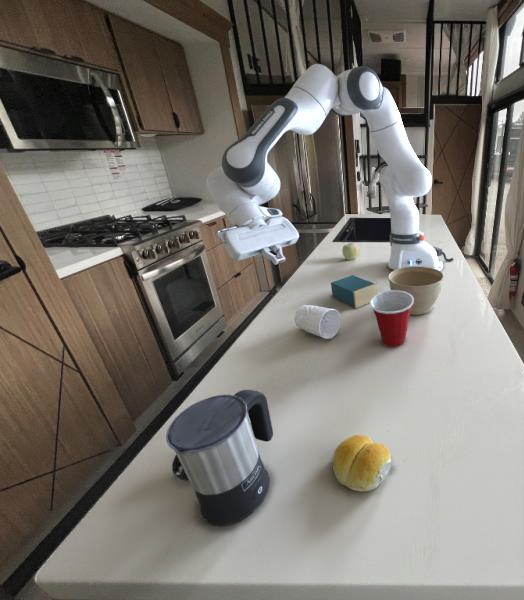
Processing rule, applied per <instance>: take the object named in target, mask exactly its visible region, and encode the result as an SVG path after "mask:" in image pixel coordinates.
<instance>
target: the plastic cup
mask: <svg viewBox="0 0 524 600" xmlns="http://www.w3.org/2000/svg"><path fill="white" fill-rule="evenodd" d="M413 303H414V298H413V296H412V295H411V294H409V293H407V292H405V291H399V290H392V291H391V290H386V291H385V290H384V291H381V292H378V294H377V295H375V296H374V297H372V298H371V299H370V303H368V304H369V306H370V308H371V310H372V311H373V314H374V316H375V320H376V324H377V327H378V332H379V334H380V339H381V342H382V343H383V345H385V346H386V347H390V348H397V347H400V346H402V345H404V343H405V341H406V336H407V332H408V328H409V327H408V326H409V322H410V315H411V314H410V311H411V307H412V305H413Z"/></svg>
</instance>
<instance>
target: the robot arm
mask: <svg viewBox="0 0 524 600" xmlns="http://www.w3.org/2000/svg"><path fill="white" fill-rule="evenodd" d="M329 113H332V114H334V115H336V116H339V117H346V116H353V115H357V114H360V113H361V114H362V116H363V117H364V118H365V120H366V123H367V126H368V128H369V132H370V134H371V137H372V140H373V142H374V145H375V148H376V151H377V153H378V155H379V157H381V159H383V161H384V162H385V163H386V166H385V165H384V166H383V167H382V169H381V170H380V172H379V176H378V181H379V185H380V186H381V188H382V189H383V191H384V193H385V197H386V201H387V204H388V208H389V215H390V217H389V218H390V232H389V244H390V256H389V259H388V260H389V261H388V265H387V267H388V268H389V269H391V270H392V271H394V270H397V269H400V268H404V267H411V266H423V267H430V268H434V269H437V270H439V271H442V270H443V268H444V262H443V261H442V260H441V259H440V258H438V257H441V256H443V259H444V260H445V261H446V262H452V261H454V257H451V258H447V254H446V253H445V252H444V251H443V248H440V247H437V246H432V245H430V244H429V243H428V242H426V241H425V233H424V232H423V231H420V212H419V211H420V210H419V209H418V207H417V206H416V204H415V202H414V199H413V198H418V197H419V198H420V197H423V196H425V195H427V194H428V193H429V192H430V190H431V188H432V186H433V177H432V173H431V172H430V171H429V169H428V168H426V167H425V166H424V164H423V163H422V162H421V161H420V159H419V158H418V156H417V154H416V153H415V151H414V149H413V147H412V146H411V144H410V141H409V139H408V136H407V132H406V130H405V127H404V124H403V121H402V117H401V114H400V112H399V110H398V107H397V104H396V102H395V100H394V98H393V96H392V94H391V91H390V90H389V89H388V88H387V87H385V86H383V83H382V82H381V80H380V77H379V76H378V74H377V73H376V72H375V71H374V70H373V69H372V68H370V67H368V66H361V65H360V66H355V67H354V68H351V69H347V70H343V71H342V72H341V73H339V74H338V75H336V74H334V72H333V71H332V70H331V69H330V68H328V66H326V65H324V64H321V63H314V64H311V65H310V66H309V67H308V68H307V69H306V70H305V71H303V73H302V74H301V75H300V76H299V77H298V79H297V80H296V81H295V82H294V84H293V85H292V87H291V88H290V90H289V91H288V92H287V93H286V95H285V96H284V97H279V98H277V99H276V100H274V101H273V102H272V103H271V104H270V105H269V106H268V107H267V108H266V109H265V110H264V111H263V113H261V115H260V116H259V117H258V118H257V120H256V121H255V122H254V123H253V124H252V125H251V126H250V128H248V130H247V131H246V132H245V133H244V134H243V135H242V136H241V137H240V138H239V139H237V140H235V141H234V142H233V143H231V144H229V146H227V148H226V149H225V150H224V152H223V154H222V158H221V166H220V167H217V168H214V169H213V170H211V171H210V173H208V175H207V176H206V181H205V185H206V189H207V191H208V193H209V195H210V196H211V198H212V200H213V201H214V203H215V204H216V206H217V207H218V209H219V210H220V211H221V212H222V213H223V214H225V216H226V218H227V221H228V223H230V226H226V227H221V228H219V230H218V231H216V236H217V238H218V240H219V241H220V242H221V243H222V244H223V246H224V248H225V250H226V251H227V253H228V255H229V257H230V258H231V259H232V260H234V261H236V262H240V261H243V260H247V259H250V258H253V257H256V256H259V255H262V257H264V258H265V259H267V260H269V261H271V262H272V264H273V265H278V264H281V263H284V262H285V261H286V257H285V255H284V254H283V248H285V247H288V246H289V247H290V246H291V245H294V244H296V243H297V242H298V240H299V238H300V233H299V231H298V230H297V229H296V227H295V225H293V224H292V222H291V221H290V220H289V219H288V218H286V217H285V216H283V212H282V211H281V210H280V209H279V208H272V207H267V206H266V207H265V206H262V205H263V204H266V203H268V202H269V201H271V200H273V199H274V198H276V197H277V196H278V195H279V193H280V190H281V186H282V185H281V179H280V177H279V175H278V174H277V173H276V171H275V170H274V168H273V167H272V166H271V165H270V163H269V162H268V154H269V153H270V151H271V150H272V149H273V147H274V146H275V145H276V144H277V142H278V141H279V140H280V139H281V138H282V136H283V135H284V134H285V133H286V132H288V131H291V132H293V133H295V134H298V135H300V136H310V135H314V133H316V132H317V131H318V130H319V129H320V127H322V124H323V123H324V121H325V119H326V118H327V117H328V115H329ZM272 252H274V253H275V254H276V255H275V254H273V253H272Z"/></svg>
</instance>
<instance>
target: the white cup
mask: <svg viewBox="0 0 524 600" xmlns="http://www.w3.org/2000/svg"><path fill="white" fill-rule="evenodd" d="M293 321H294V324H295V326H296V327H297V328H298V329H300V330H303V331H305V332H307V333H309V334H311V335H314V336H317V337H320V338H322V339H325V340H330V339H332V338H334V337H335V336H336V335H337V334H338V332H339V331H340V328H341V323H342V318H341V314H340V312H339V311H338V310H336V309H335V308H328V307H323V306H318V305H309V304H303V305H301V306H299V307H298V308H297V310H296V311H295V314H294V320H293Z"/></svg>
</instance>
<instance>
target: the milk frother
mask: <svg viewBox="0 0 524 600" xmlns="http://www.w3.org/2000/svg"><path fill="white" fill-rule="evenodd" d="M267 399H268V398H267V397H266V395H265V394H264V393H263V392H261V391H258V390H254V389H242V390H239V391H237V392H235V393H234V394H218V395H214V396H210V397H207V398H204V399H202V400H199V401H197V402H194V403H193V404H191V405H190V406H188V407H187V408H185V409H183V411H181V412H180V413H179V414H178V415H177V416H176V417H175V418H174V419H173V420H172V421H171V422H170V424H169V426H168V428H167V430H166V434H165V435H166V436H165V441H166V443H167V445H168V447H169V448H171V449H172V450H173V451H174V452H175V456H174V458H173V460H172V465H171V467H172V468H171V469H172V473H173V475H174V476H175V477H176V478H178V479H179V480H182V481H188V482H189V483H190V485H191V488H192V490H193V492H194V493H195V496H196V498H197V500H198V503H199V506H200V508H199V509H200V513H201V516H202V518H203V519H204V521H205V522H206V523H208V524H210V525H213V526H217V527H226V526H230V525H233V524H236V523H239V522H240V521H241V522H242V520H244V519H246V518H247V517H249V516H250V515H252V513H254V512H255V511H256V510H257V509H258V508H259V507H260V506H261V504H262V503H263V501H264V500H265V498H266V496H267V494H268V492H269V489H270V484H271V483H270V482H271V481H270V475H269V472H268V470H267V469H266V468H265V465H264V463H263V460H262V457H261V454H260V453H259V448H258V446H257V442H256V440H259V441H262V442H266V443H267V442H271V440H272V438H273V436H274V431H273V425H272V420H271V415H270V410H269V404H268V400H267ZM248 418H249V419H248ZM249 421H250V422H249Z"/></svg>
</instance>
